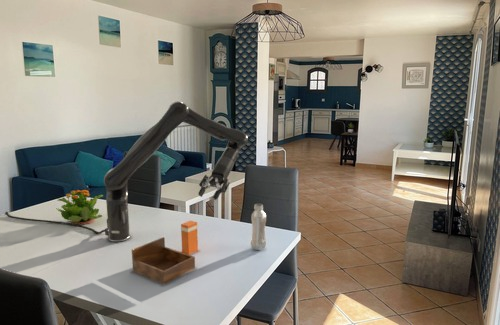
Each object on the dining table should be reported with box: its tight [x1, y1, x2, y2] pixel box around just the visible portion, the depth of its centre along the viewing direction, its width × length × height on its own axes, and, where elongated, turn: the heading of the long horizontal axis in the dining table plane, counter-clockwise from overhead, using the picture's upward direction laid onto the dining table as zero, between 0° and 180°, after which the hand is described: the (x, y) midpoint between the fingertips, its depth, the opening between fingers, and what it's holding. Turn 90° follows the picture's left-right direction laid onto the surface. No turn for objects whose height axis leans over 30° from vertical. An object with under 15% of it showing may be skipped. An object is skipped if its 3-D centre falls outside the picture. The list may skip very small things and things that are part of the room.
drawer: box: [131, 236, 196, 285], centre depth 144 cm, size 18×16×9 cm
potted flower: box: [56, 189, 104, 226], centre depth 197 cm, size 25×24×18 cm
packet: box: [180, 220, 199, 255], centre depth 160 cm, size 4×6×13 cm
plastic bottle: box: [250, 203, 267, 251], centre depth 163 cm, size 6×7×20 cm
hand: (207, 197), depth 167 cm, fingers open, 8 cm apart
